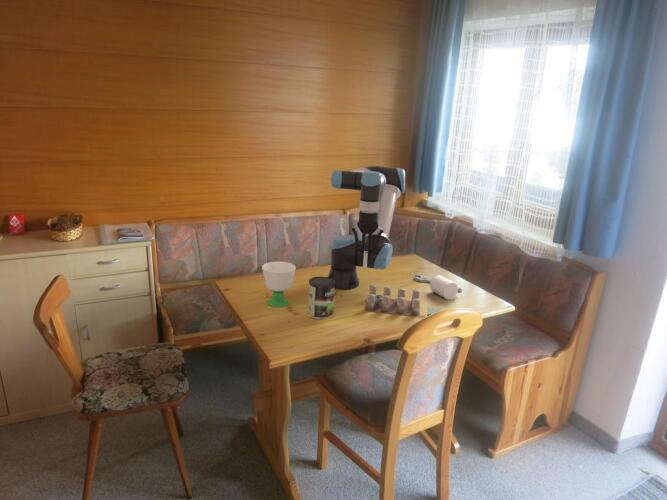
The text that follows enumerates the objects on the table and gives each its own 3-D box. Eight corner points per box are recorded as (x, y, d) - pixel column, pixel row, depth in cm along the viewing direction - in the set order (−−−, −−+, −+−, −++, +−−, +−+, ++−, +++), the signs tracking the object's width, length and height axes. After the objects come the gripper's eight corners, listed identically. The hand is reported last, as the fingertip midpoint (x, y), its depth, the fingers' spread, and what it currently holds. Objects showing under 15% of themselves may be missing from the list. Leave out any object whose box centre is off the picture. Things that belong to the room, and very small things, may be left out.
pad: (420, 315, 196) (421, 313, 196) (420, 308, 203) (420, 306, 202) (440, 317, 195) (441, 315, 195) (440, 310, 202) (440, 308, 201)
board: (364, 313, 195) (365, 297, 193) (368, 298, 210) (369, 283, 208) (419, 319, 192) (421, 303, 190) (419, 303, 207) (421, 288, 205)
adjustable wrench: (462, 292, 224) (463, 288, 223) (455, 295, 220) (455, 292, 219) (418, 276, 240) (418, 273, 240) (410, 279, 236) (410, 276, 235)
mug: (442, 300, 212) (445, 283, 209) (428, 292, 220) (430, 276, 218) (463, 297, 217) (466, 280, 215) (449, 289, 226) (451, 273, 223)
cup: (281, 293, 210) (281, 259, 205) (301, 303, 201) (302, 267, 196) (254, 301, 201) (254, 265, 196) (275, 312, 192) (275, 275, 187)
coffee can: (338, 313, 194) (340, 280, 190) (324, 322, 186) (326, 287, 182) (317, 306, 199) (318, 274, 195) (302, 314, 191) (303, 281, 187)
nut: (372, 306, 199) (373, 298, 198) (373, 301, 204) (374, 294, 203) (383, 307, 199) (384, 299, 198) (384, 302, 204) (384, 295, 203)
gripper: (351, 212, 188) (348, 269, 195) (385, 214, 187) (380, 271, 194) (353, 207, 195) (349, 263, 202) (385, 210, 194) (381, 265, 201)
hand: (364, 267), depth 198 cm, fingers closed
